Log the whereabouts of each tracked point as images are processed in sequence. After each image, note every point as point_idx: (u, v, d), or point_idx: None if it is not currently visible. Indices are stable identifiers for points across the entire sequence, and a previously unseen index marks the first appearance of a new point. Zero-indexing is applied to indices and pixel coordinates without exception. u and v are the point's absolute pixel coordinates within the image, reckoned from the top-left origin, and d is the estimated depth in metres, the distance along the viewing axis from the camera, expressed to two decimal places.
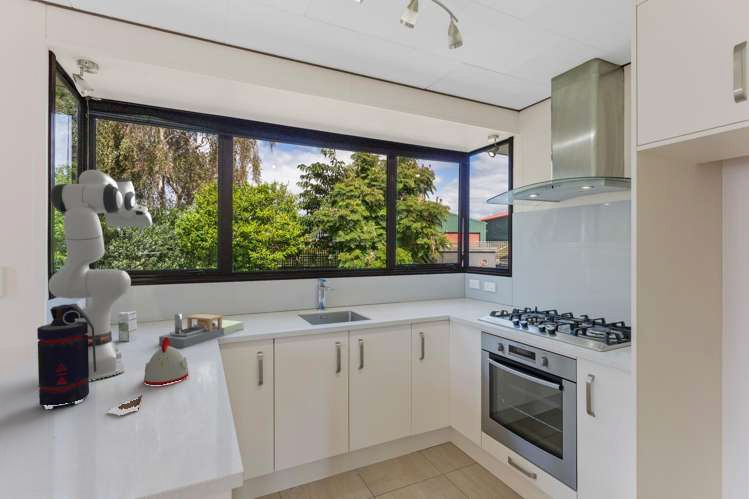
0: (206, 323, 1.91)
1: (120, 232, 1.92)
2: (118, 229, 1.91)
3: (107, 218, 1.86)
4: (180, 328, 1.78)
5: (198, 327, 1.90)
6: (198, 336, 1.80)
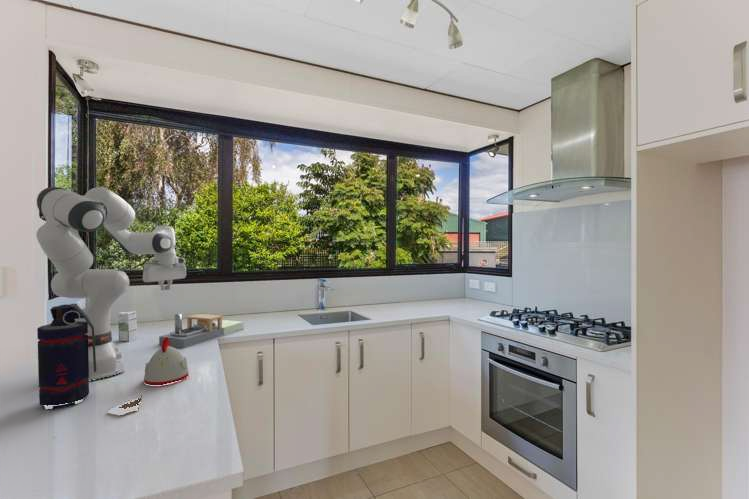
0: (206, 323, 1.91)
1: (165, 288, 1.71)
2: None
3: (150, 271, 1.63)
4: (180, 328, 1.78)
5: (198, 327, 1.90)
6: (198, 336, 1.80)
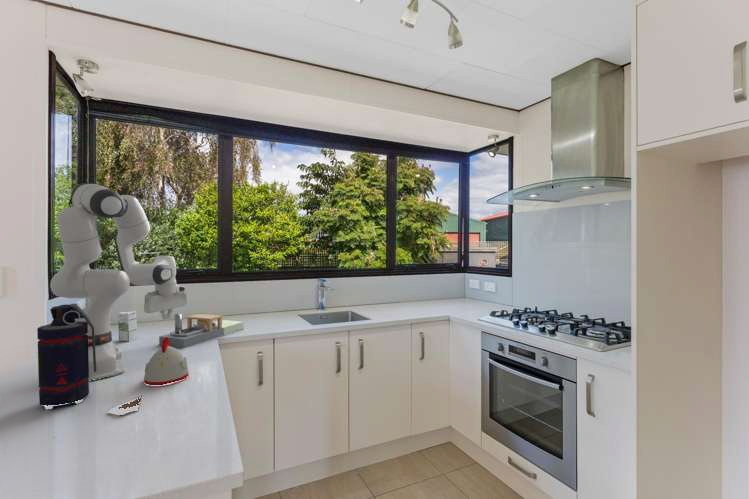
0: (206, 323, 1.91)
1: (167, 316, 1.72)
2: None
3: (151, 302, 1.64)
4: (180, 328, 1.78)
5: (198, 327, 1.90)
6: (198, 336, 1.80)
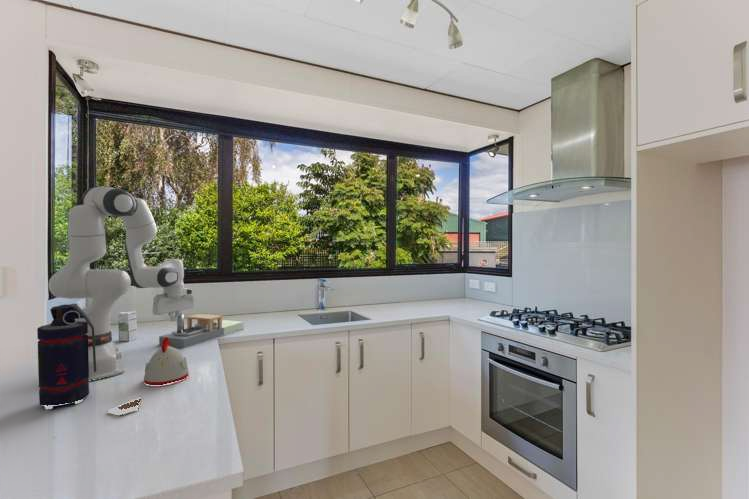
0: (207, 323, 1.92)
1: (174, 319, 1.75)
2: (172, 315, 1.75)
3: (159, 304, 1.67)
4: (182, 327, 1.79)
5: (200, 327, 1.91)
6: (198, 336, 1.80)
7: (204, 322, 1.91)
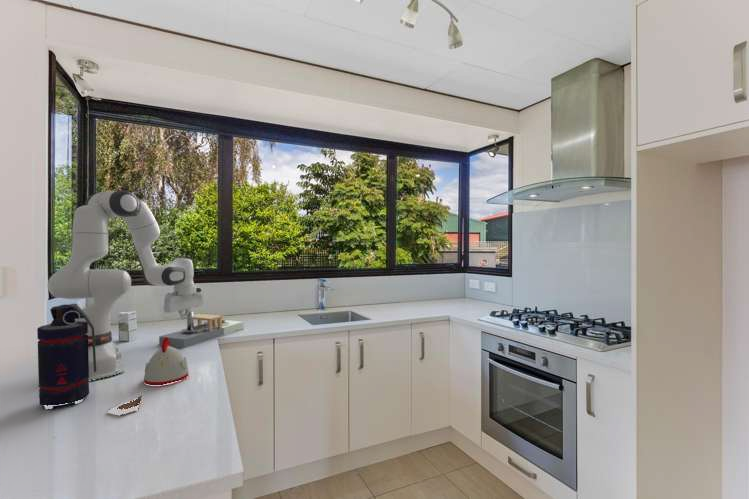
0: (216, 320, 1.98)
1: (184, 316, 1.81)
2: None
3: (171, 302, 1.73)
4: (192, 325, 1.84)
5: None
6: (198, 336, 1.80)
7: (213, 320, 1.97)
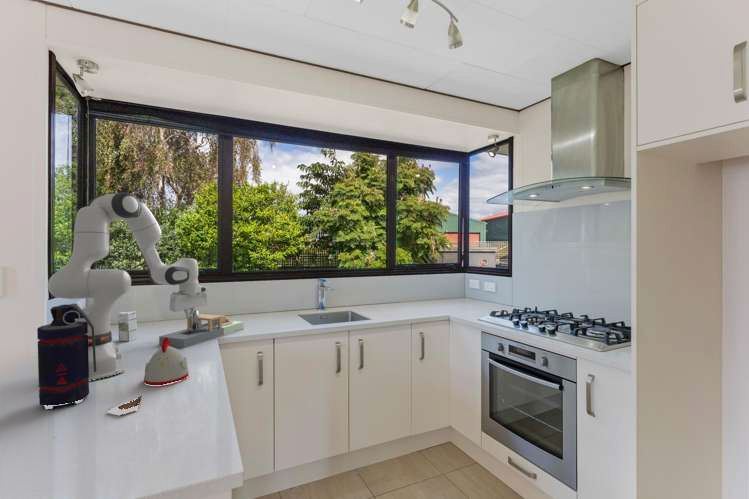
0: None
1: (190, 315, 1.84)
2: None
3: (176, 301, 1.76)
4: (197, 324, 1.87)
5: (213, 323, 1.99)
6: (198, 336, 1.80)
7: None
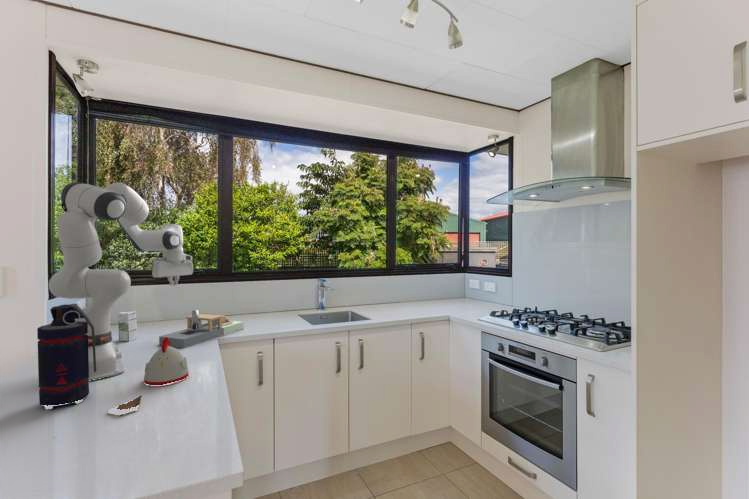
0: None
1: (173, 283, 1.79)
2: (172, 280, 1.79)
3: (159, 267, 1.71)
4: (197, 324, 1.87)
5: (213, 323, 1.99)
6: (198, 336, 1.80)
7: None
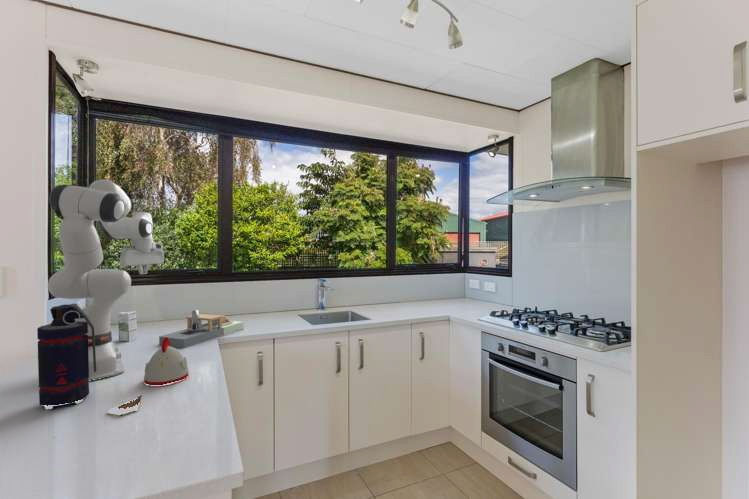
0: None
1: (143, 272, 1.77)
2: (141, 268, 1.77)
3: (127, 255, 1.69)
4: (197, 324, 1.87)
5: (213, 323, 1.99)
6: (198, 336, 1.80)
7: None
